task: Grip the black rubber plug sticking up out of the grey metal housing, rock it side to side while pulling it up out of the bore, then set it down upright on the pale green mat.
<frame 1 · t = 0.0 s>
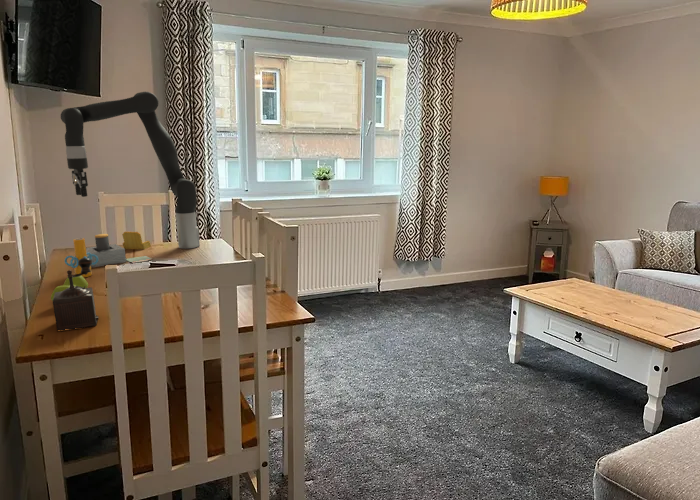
hand: (81, 195, 223), 29 cm above the table, tool pointing down, fingers open, 8 cm apart
coffee grinder: (78, 321, 158), on the table
housing: (104, 261, 230), on the table
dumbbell: (71, 301, 177), on the table
mat: (139, 260, 232), on the table
yellow blue looped piece: (83, 276, 208), on the table
yellow piece: (137, 248, 257), on the table
plug: (103, 248, 228), in the housing
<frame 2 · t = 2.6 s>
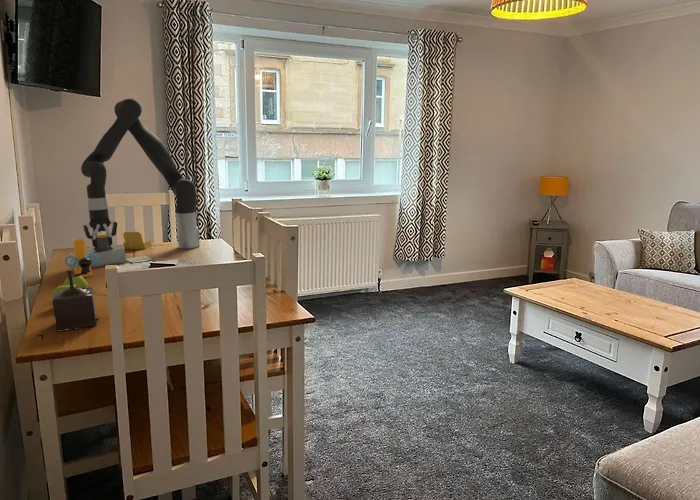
hand: (102, 246, 228), 7 cm above the table, tool pointing down, fingers closed on plug, 5 cm apart
plug: (103, 248, 228), in the housing, touching gripper
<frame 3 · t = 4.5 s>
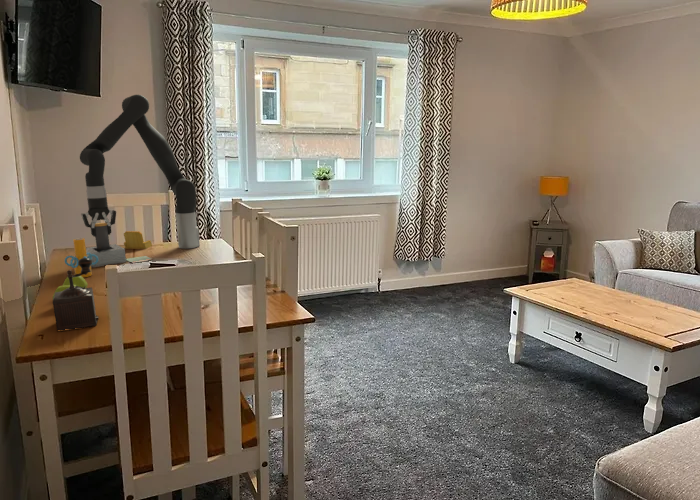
hand: (101, 235, 227), 12 cm above the table, tool pointing down, fingers closed on plug, 5 cm apart
plug: (102, 237, 227), point 11 cm above the table, touching gripper
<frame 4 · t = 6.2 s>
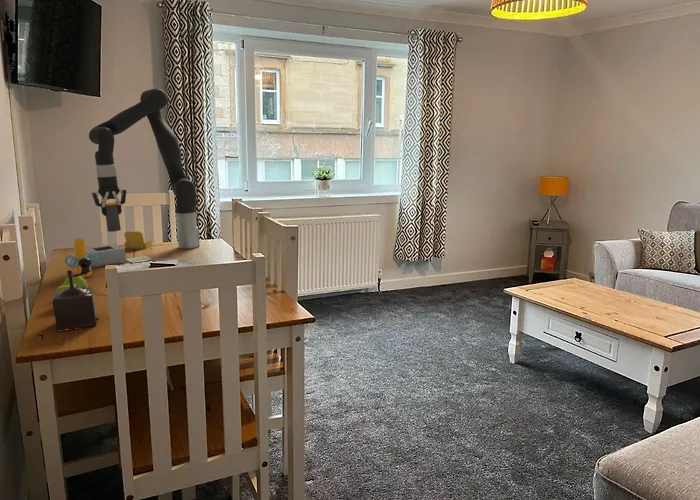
hand: (112, 214, 226), 21 cm above the table, tool pointing down, fingers closed on plug, 5 cm apart
plug: (112, 216, 227), point 20 cm above the table, touching gripper
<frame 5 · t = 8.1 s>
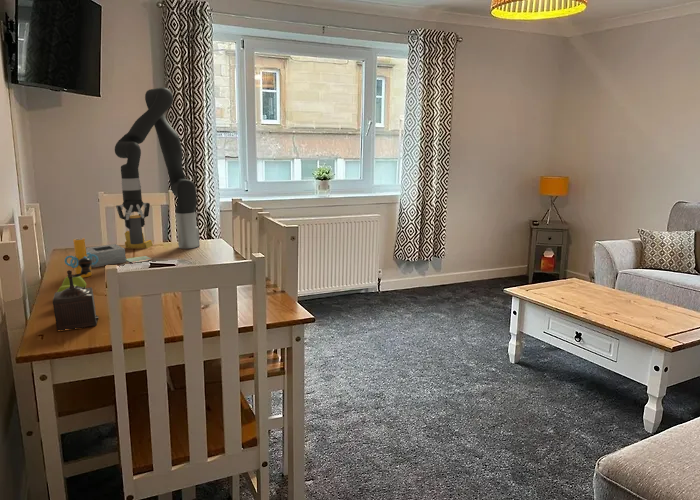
hand: (135, 227, 229), 15 cm above the table, tool pointing down, fingers closed on plug, 5 cm apart
plug: (135, 229, 229), point 14 cm above the table, touching gripper
when the fingers open (9 cm above the table, at t = 9.6 s): plug drops 2 cm, resting on mat.
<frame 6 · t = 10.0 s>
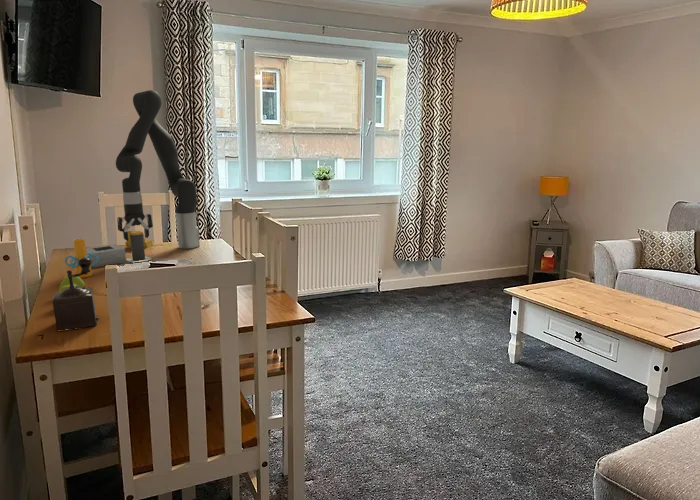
hand: (136, 238, 230), 10 cm above the table, tool pointing down, fingers open, 8 cm apart
plug: (137, 246, 231), on the mat
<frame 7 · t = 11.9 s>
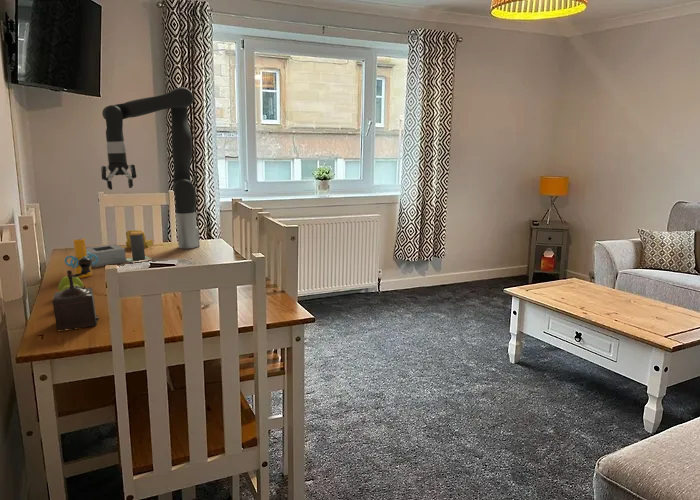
hand: (120, 188, 235), 31 cm above the table, tool pointing down, fingers open, 8 cm apart
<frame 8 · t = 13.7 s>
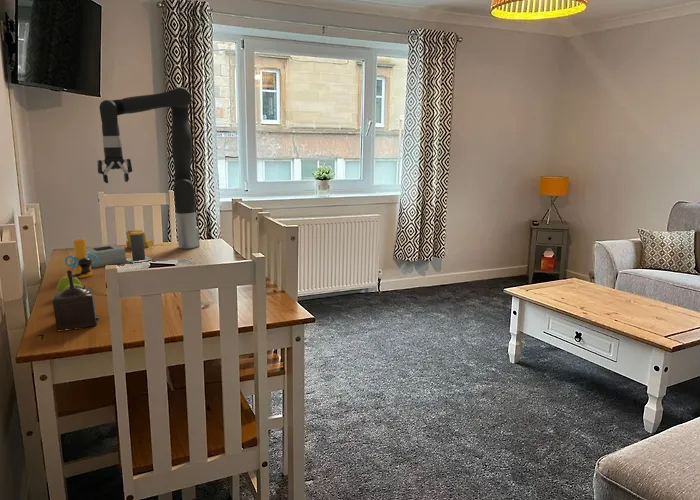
hand: (116, 182, 239), 33 cm above the table, tool pointing down, fingers open, 8 cm apart
at the end: plug inside the target area on the mat (0.0 cm from its centre), point 6.4 cm above the mat's base; plug tilted 0°; the gripper is holding nothing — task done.
